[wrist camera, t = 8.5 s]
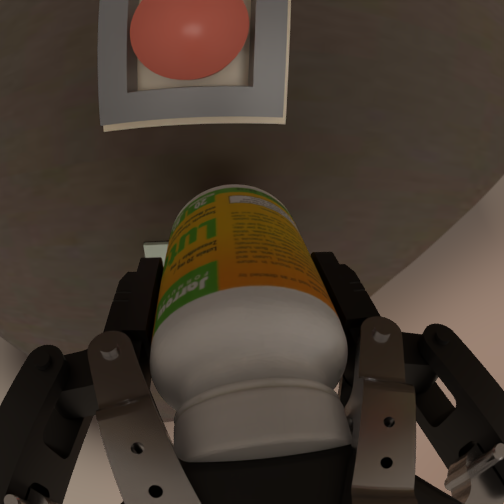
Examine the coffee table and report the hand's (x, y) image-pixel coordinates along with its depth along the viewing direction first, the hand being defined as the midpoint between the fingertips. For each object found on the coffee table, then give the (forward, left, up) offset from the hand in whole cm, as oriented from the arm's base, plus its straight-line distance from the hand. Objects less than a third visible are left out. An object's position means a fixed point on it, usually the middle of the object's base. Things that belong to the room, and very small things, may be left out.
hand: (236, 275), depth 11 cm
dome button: (-10, -2, -9) cm, 13 cm away
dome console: (-10, -2, -10) cm, 14 cm away
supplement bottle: (0, 0, -3) cm, 3 cm away
